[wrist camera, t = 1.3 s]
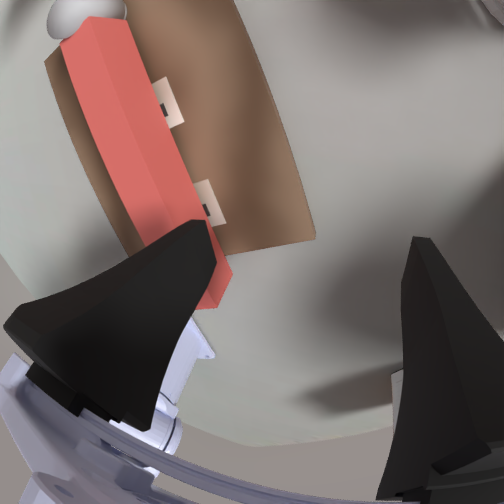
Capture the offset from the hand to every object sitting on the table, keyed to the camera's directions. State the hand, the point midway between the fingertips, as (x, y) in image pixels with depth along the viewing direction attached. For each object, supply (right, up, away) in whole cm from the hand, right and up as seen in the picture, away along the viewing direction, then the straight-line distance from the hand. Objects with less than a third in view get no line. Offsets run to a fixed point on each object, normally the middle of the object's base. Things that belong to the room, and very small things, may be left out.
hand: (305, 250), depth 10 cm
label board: (-9, +9, +10) cm, 16 cm away
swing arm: (-9, +8, +9) cm, 15 cm away
